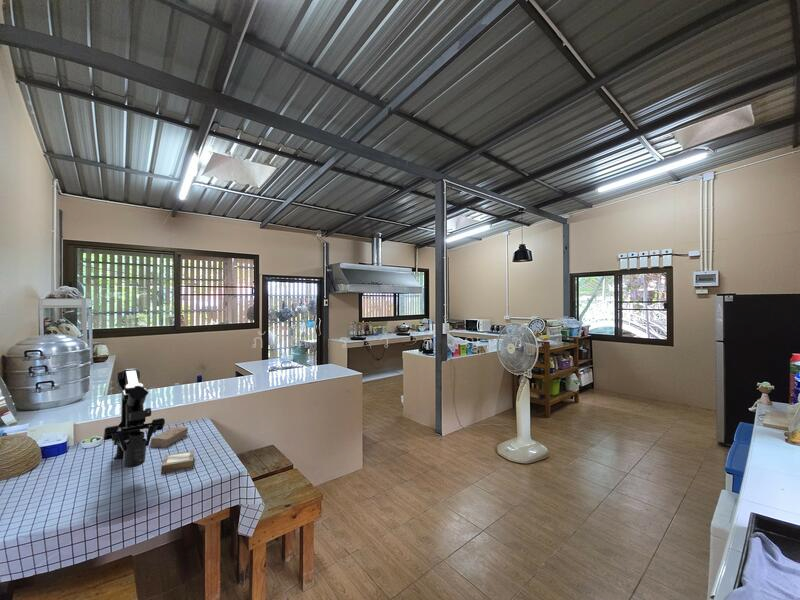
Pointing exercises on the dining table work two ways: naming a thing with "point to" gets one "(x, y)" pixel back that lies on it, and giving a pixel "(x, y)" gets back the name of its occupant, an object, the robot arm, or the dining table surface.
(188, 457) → the plate
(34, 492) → the dining table surface
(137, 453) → the supplement bottle
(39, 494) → the dining table surface
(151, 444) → the brick
